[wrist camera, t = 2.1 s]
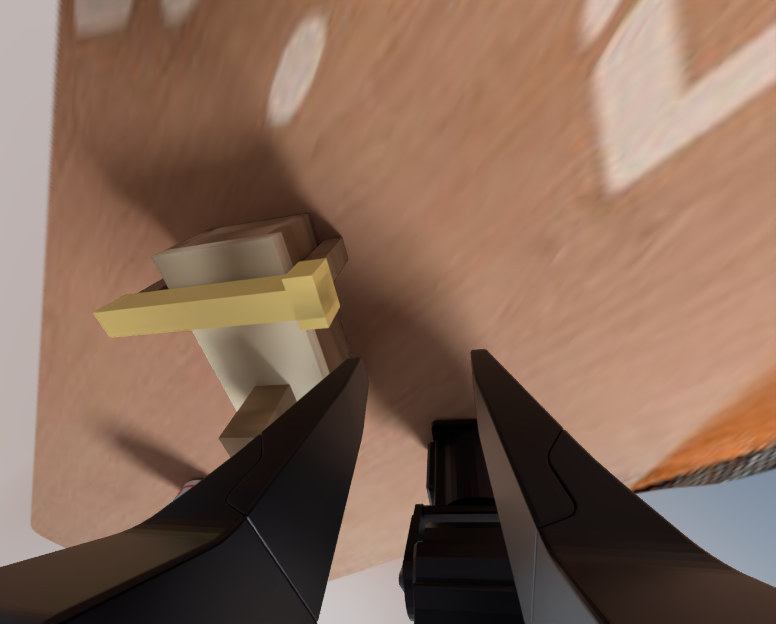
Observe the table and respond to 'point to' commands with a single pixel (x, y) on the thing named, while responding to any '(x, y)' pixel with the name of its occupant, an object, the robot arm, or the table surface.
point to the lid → (249, 335)
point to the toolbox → (299, 249)
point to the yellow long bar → (228, 304)
